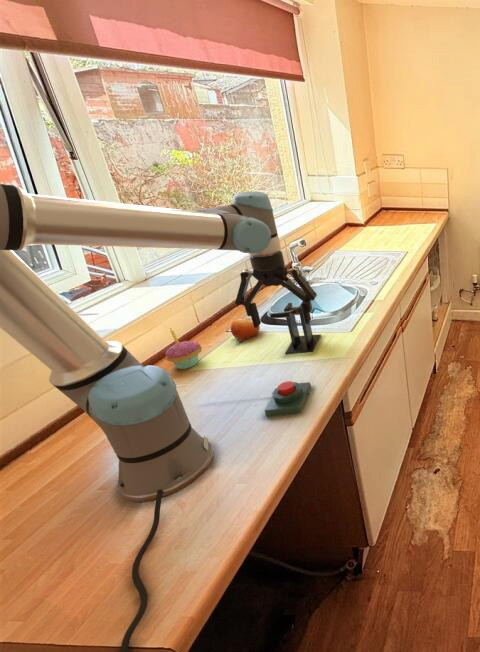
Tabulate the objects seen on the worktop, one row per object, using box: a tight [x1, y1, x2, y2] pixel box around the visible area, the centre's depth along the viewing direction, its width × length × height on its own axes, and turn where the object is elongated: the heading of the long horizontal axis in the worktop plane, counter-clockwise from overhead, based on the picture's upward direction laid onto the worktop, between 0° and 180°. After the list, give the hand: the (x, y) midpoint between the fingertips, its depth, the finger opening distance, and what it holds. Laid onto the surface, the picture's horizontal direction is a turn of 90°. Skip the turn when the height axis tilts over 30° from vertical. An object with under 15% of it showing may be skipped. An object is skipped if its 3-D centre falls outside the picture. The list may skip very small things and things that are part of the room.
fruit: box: [230, 317, 261, 344], centre depth 132 cm, size 8×8×8 cm
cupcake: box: [164, 327, 203, 370], centre depth 117 cm, size 9×8×12 cm
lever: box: [269, 305, 300, 319], centre depth 118 cm, size 14×5×2 cm, turn 10°
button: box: [277, 380, 295, 395], centre depth 103 cm, size 4×4×2 cm
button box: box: [264, 381, 312, 418], centre depth 104 cm, size 10×8×4 cm
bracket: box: [283, 302, 322, 355], centre depth 126 cm, size 10×8×15 cm
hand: (283, 323), depth 113 cm, fingers open, 13 cm apart
